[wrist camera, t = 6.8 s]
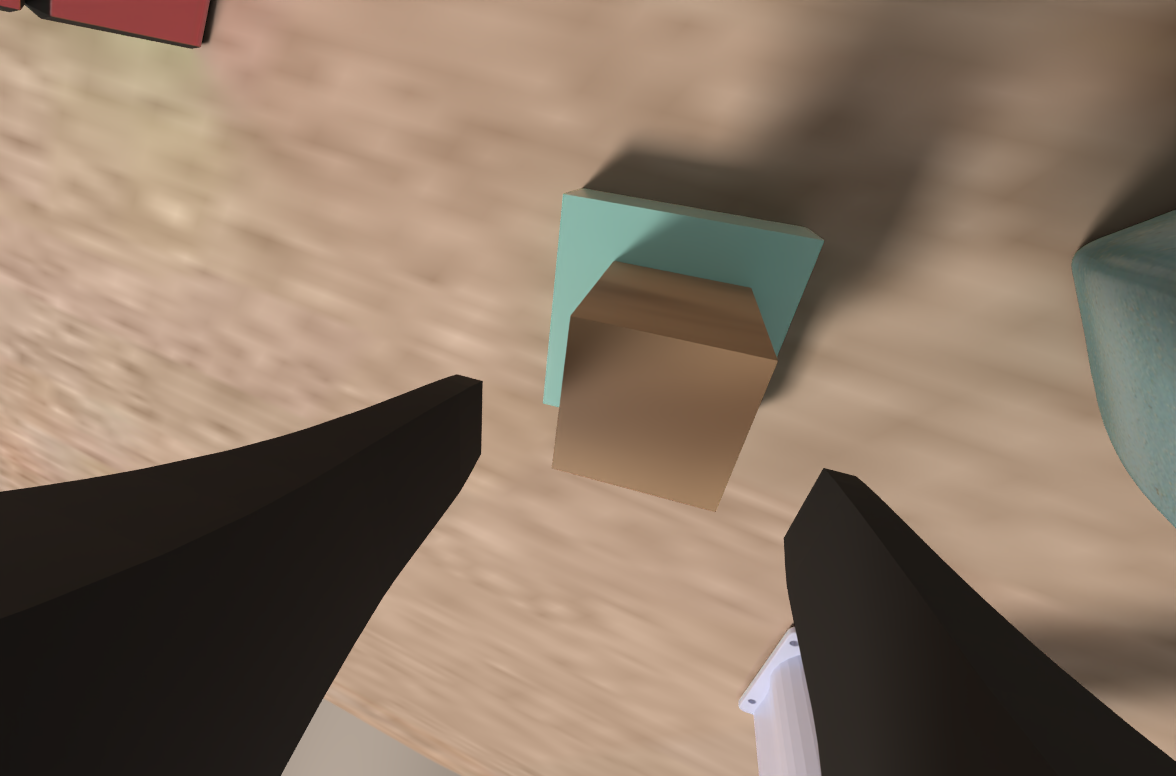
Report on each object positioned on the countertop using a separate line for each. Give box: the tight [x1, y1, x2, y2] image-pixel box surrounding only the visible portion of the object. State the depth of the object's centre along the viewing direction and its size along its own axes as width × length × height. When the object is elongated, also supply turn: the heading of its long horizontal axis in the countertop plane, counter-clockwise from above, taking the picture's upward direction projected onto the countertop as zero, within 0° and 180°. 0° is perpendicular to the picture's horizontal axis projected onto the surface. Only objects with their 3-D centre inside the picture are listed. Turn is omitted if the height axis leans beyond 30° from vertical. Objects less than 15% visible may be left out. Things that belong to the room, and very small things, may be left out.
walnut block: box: [552, 261, 778, 512], centre depth 13 cm, size 4×4×6 cm
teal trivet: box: [543, 188, 824, 407], centre depth 16 cm, size 8×8×3 cm
